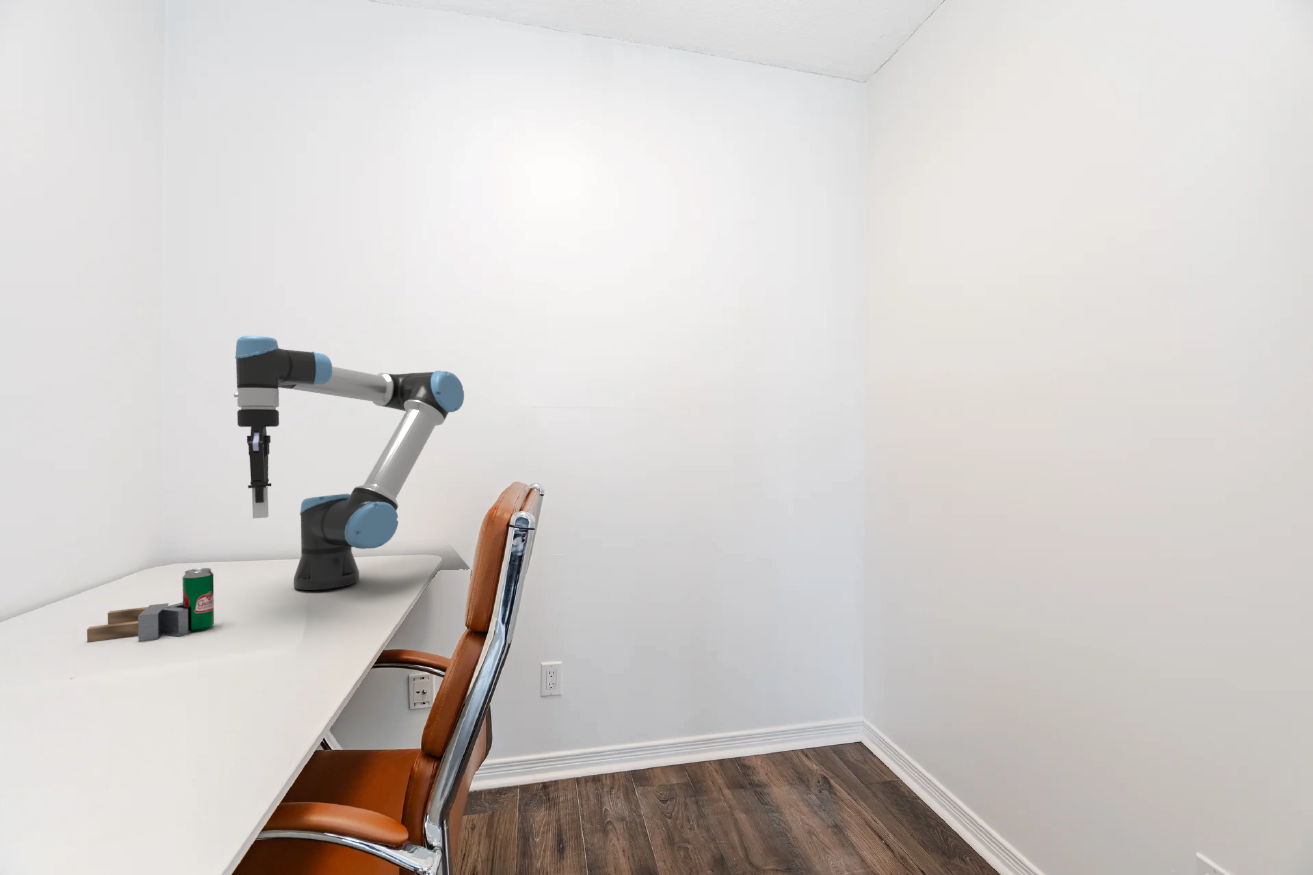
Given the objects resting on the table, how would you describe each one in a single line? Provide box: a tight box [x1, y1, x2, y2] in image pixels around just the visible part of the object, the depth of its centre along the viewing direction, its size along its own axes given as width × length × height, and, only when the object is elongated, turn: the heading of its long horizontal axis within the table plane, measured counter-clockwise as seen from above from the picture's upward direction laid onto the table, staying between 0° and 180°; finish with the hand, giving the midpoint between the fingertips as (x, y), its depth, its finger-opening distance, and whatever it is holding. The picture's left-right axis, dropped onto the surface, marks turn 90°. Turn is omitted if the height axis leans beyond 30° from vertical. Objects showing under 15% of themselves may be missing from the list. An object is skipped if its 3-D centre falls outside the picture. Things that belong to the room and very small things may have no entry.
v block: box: [137, 601, 189, 642], centre depth 121 cm, size 8×8×5 cm
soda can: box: [181, 567, 215, 633], centre depth 124 cm, size 5×5×12 cm
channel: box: [86, 606, 148, 643], centre depth 124 cm, size 8×13×2 cm, turn 28°
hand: (260, 517), depth 131 cm, fingers closed
